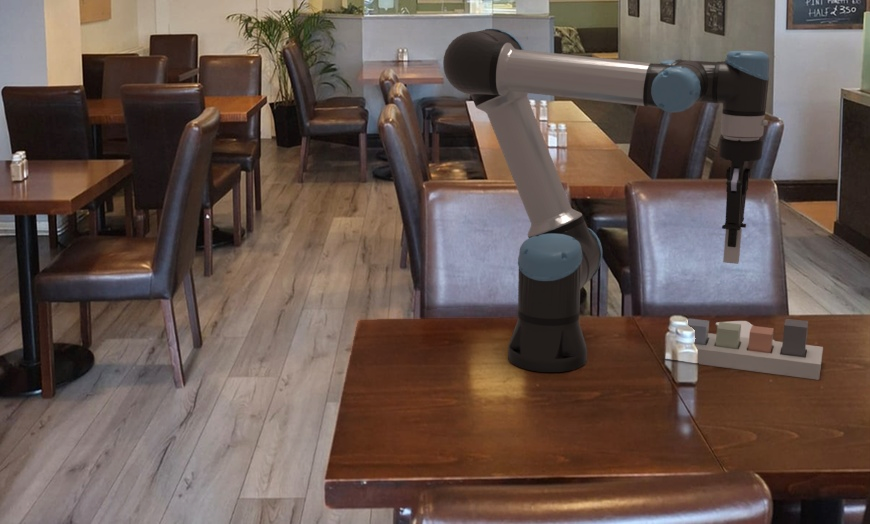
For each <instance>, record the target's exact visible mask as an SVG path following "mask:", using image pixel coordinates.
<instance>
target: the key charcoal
mask: <svg viewBox="0 0 870 524" xmlns="http://www.w3.org/2000/svg"><path fill="white" fill-rule="evenodd" d="M808 327H809V320H803V319H802V320H801V319H792V318H785V321H784V325H783V333H782V335H783V336H782V342H783V344H782V355H789V356H797V357H804V356H805V350H806V345H807V340H808V338H807V337H808Z"/></svg>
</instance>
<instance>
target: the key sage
mask: <svg viewBox="0 0 870 524" xmlns="http://www.w3.org/2000/svg"><path fill="white" fill-rule="evenodd" d="M719 322H720V323H719V325H718V327H717V326H716V334H717V335H716V347H724V348H732V349H739V345H740V333H741V324H732V323H724V322H725V321H719Z"/></svg>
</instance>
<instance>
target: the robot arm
mask: <svg viewBox="0 0 870 524" xmlns="http://www.w3.org/2000/svg"><path fill="white" fill-rule="evenodd" d="M442 63H443V64H442V65H443V72H444V75H445V78H446V79H447V81H448V82H449V84H450V85H452V87H453V88H454V89H456V90H457V91H459V92H461V93H464V94H467V95H470V97H471V98H472V100H473V103H474V105H475V108H476V109H478V110H480V111H483V112H484V113H486V115H487V117H488V120H489V123H490V125H491V127H492V129H493V131H494V132H493V133H494V134H495V137H496V140H497V142H498V144H499V147H500V149H501V152H502V154H503V157H504V160H505V163H506V165H507V167H508V170H509V172H510V175H511V178H512V179H513V182H514V185H515V188H516V190H517V192H518V194H519V196H520V199H521V200H520V201H521V203H522V204H523V207H524V209H525V211H526V214H527V217H528V219H529V222H530V227H529V230H528V233H527V237H528V238H527V239H525V240H524V241H523V242H522V243H521V245H520V247H519V254H518V257H517V266H518V282H517V283H518V284H517V286H518V287H517V288H518V289H517V290H518V291H517V294H518V295H517V296H518V298H517V320H516V321H517V322H516V323H515V327H514V329H513V332H512V336H511V338H510V340H509V343H508V347H507V359H508V361H509V362H510V363H511V364H512V365H514V366H516V367H518V368H521V369H524V370H527V371H534V372H539V373H540V372H541V373H561V372H569V371H575V370H577V369H580V368H581V367H583V366H585V364H587V361H588V347H587V344H586V340H585V338H584V334H583V330H582V327H581V324H580V306H581V305H580V304H581V303H580V301H581V289H582V288H583V287H584V286H585V285H586V284H587V283H588V282H590V281H591V280H592V279H593V278H594V277H595V276H596V275H597V272H598V270H599V269H600V267H601V263H602V259H603V247H602V243H601V240H600V238H599V237H598V235H597V233H595V231H593V230H592V229H591V228H589V227H588V225H587V223H586V220H585V218H584V216H583V214H582V212H580V211H577V210H576V209H573V208H572V206H571V202H570V201H569V198H568V196H567V194H566V191H565V189H564V186H563V184H562V181H561V178H560V176H559V173H558V172H557V168H556V166H555V163H554V161H553V158H552V155H551V153H550V151H549V149H548V146H547V143H546V141H545V139H544V136H543V133H542V131H541V128H540V126H539V123H538V121H537V118H536V116H535V113H534V109H532V108H533V107H532V106H531V103H530V101H529V98H528V94H534V95H540V96H541V95H544V96H551V97H553V96H554V97H560V98H561V97H563V98H571V99H579V100H586V101H587V100H588V101H598V102H606V103H615V104H623V105H624V104H625V105H632V106H643V107H648V108H655V109H660V110H662V111H664V112H668V113H682V112H685V111H687V110H689V109H690V108H691V107H693V106H694V105H695V104H696V103H699V104H701V103H704V104H722V111H721V112H722V113H721V122H720V134H721V136H722V137H721V138H719V148H718V155H719V158H720V159H722V160H725V161H730V162H731V164H730V166H729V167H728V169H726V174H725V175H726V176H725V178H726V205H725V222H724V224H722V226H721V229H723V230H725V237H724V248H723V260H722V262H723V263H724V264H726V263H727V264H736V265H738V264H739V263H740V255H741V254H740V252H741V242H742V231H743V229H744V228H745V229H746V227H747V223H743V222H744V220H745V217H744V215H745V207H746V200H747V199H746V198H747V191H748V190H749V181H750V177H751V174H752V168H748V166H749V165H748V163H749V162H757V161H760V160H761V159H762V156H763V143H764V141H763V140H762V138H761V137H762V136H764V132H765V131H764V129H765V126H768V125H769V122H768V120H766V119H765V117H766V111H767V100H768V91H769V90H768V89H769V81H770V56H769V55H768V54H767V52H765V51H760V50H731V51H728V52H727V53H726V58H725V60H722V61H706V60H688V59H687V60H686V59H683V60H682V59H681V58H680V59H679V58H678V59H668V60H667V59H666V60H662V61H661V62H660V63H652V62H643V61H642V62H641V61H633V60H625V59H614V58H604V57H603V58H602V57H597V56H596V57H595V56H593V57H592V56H585V55H584V56H583V55H577V54H574V55H573V54H567V53H565V54H564V53H556V52H547V51H546V52H545V51H536V50H525V49H524V46H523V45H522V43H521V41H520V40H519V39H518V38H517V37H516V36H515V35H514V34H512V33H510V32H508V31H507V30H502V29H498V28H485V29H483V30H478V31H468V32H465V33H462V34H460V35H458V36H457V37H456V38H454V39H453V40H451V42H450V43H449V44H448V46H447V48H446V49H445V52H444V55H443V61H442ZM742 228H743V229H742Z"/></svg>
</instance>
